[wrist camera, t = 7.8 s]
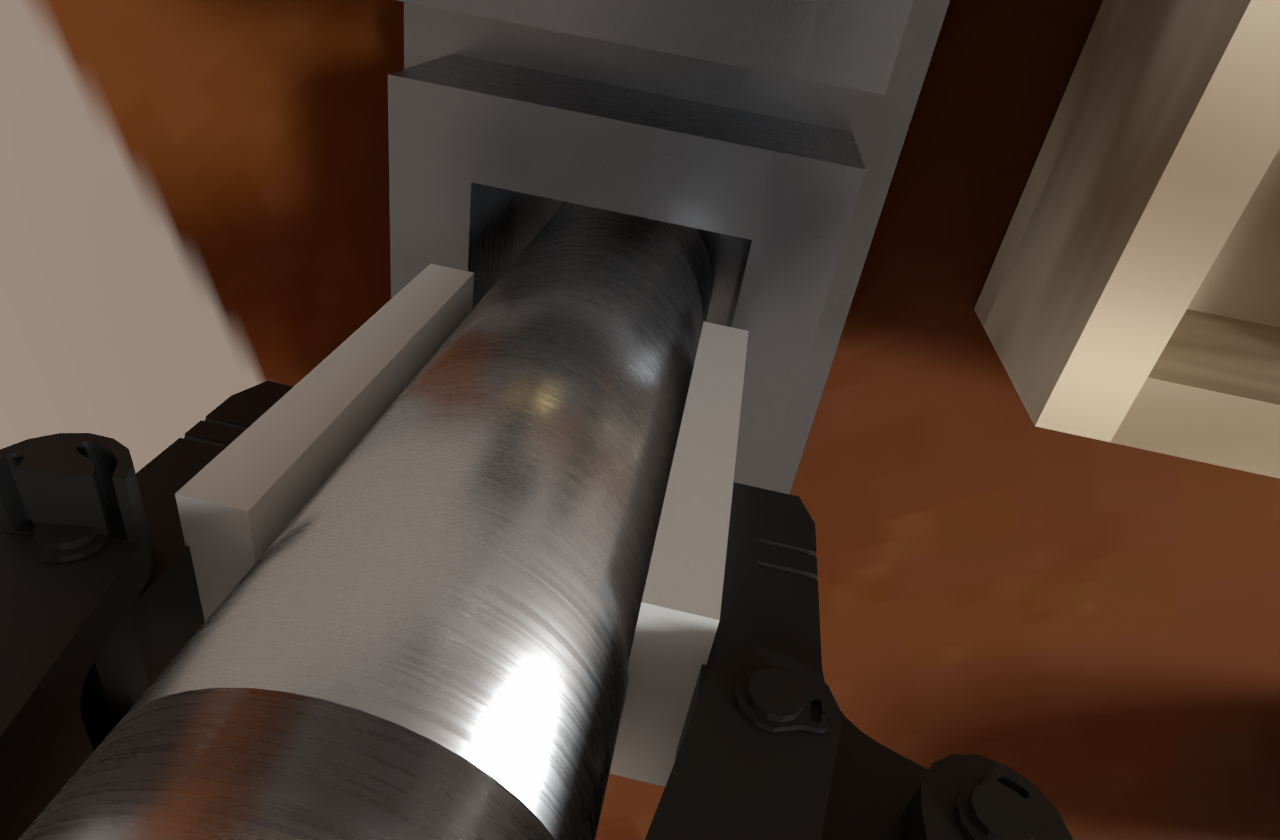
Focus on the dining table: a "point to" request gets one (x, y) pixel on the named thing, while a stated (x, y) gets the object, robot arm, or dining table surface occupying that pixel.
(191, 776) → the silver long cylinder
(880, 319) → the dining table surface
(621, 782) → the dining table surface
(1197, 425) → the block
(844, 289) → the socket plate
